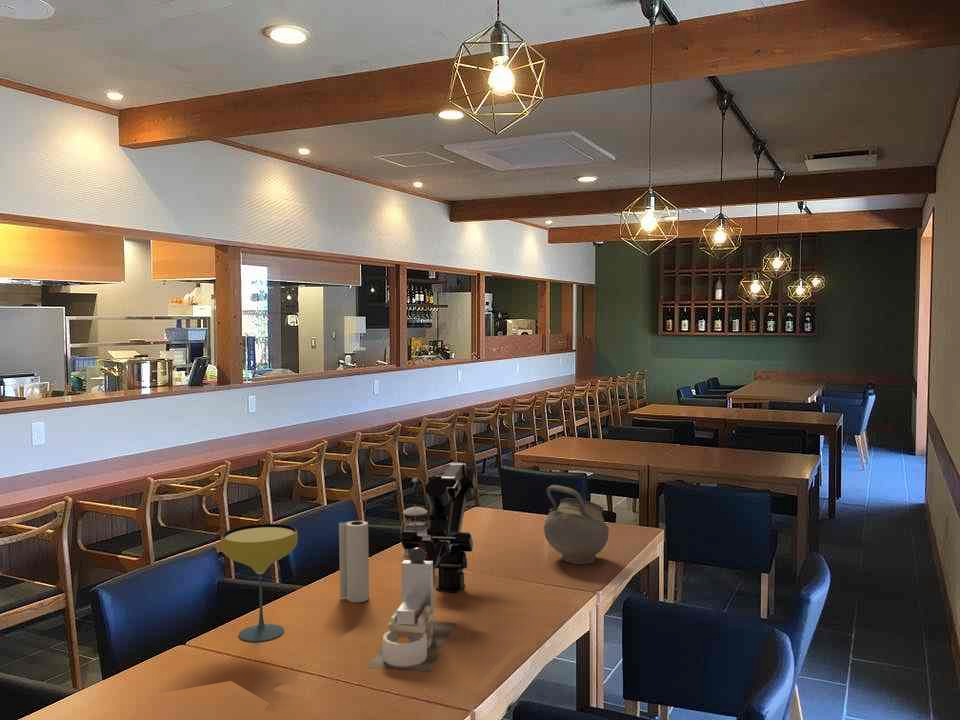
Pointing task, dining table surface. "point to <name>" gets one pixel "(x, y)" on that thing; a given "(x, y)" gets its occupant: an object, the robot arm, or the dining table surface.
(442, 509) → the robot arm
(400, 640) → the ball
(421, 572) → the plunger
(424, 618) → the launcher
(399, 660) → the cup
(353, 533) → the paper towel roll
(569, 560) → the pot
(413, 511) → the french press
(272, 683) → the dining table surface
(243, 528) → the cocktail glass
